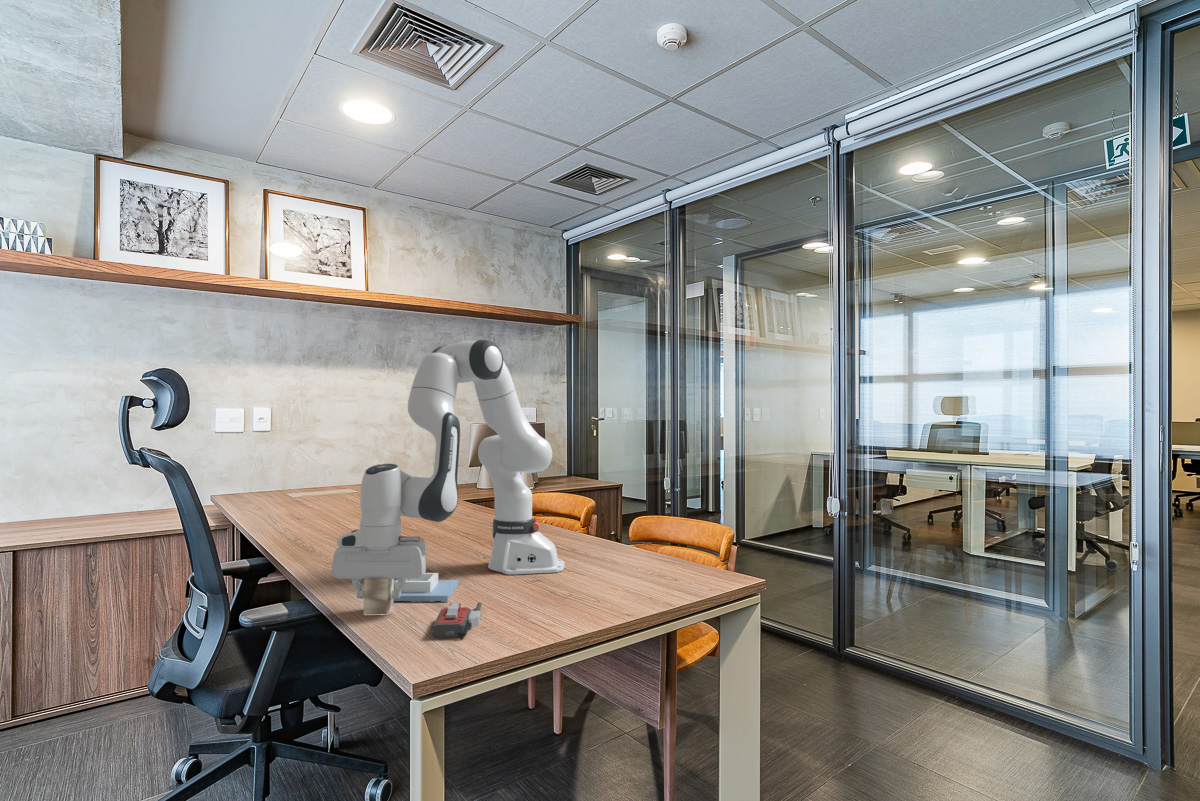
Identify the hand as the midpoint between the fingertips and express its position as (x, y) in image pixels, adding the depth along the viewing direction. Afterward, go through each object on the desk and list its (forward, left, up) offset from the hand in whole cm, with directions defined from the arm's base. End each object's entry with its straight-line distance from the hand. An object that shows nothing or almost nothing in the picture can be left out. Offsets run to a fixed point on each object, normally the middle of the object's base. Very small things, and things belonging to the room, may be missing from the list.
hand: (379, 597), depth 136 cm
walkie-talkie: (-19, +8, -4) cm, 21 cm away
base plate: (-5, -14, -3) cm, 15 cm away
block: (0, 0, -3) cm, 3 cm away
